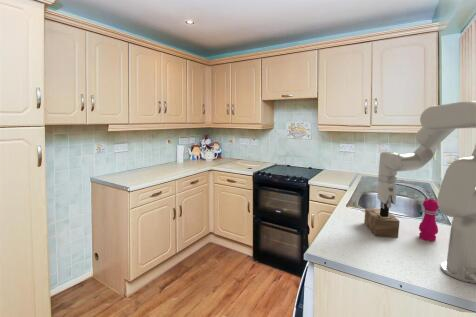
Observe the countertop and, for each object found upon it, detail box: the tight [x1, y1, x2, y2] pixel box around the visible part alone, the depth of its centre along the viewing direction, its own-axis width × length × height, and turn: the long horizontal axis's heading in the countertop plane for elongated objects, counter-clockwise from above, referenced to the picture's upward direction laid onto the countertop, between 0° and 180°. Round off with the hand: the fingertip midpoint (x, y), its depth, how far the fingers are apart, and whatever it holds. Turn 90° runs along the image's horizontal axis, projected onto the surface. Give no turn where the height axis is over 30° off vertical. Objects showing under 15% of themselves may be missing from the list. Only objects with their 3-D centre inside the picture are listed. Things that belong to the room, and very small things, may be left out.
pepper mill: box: [418, 195, 440, 242], centre depth 124 cm, size 7×7×20 cm
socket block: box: [363, 208, 400, 238], centre depth 134 cm, size 16×10×8 cm, turn 172°
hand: (384, 216), depth 130 cm, fingers closed
